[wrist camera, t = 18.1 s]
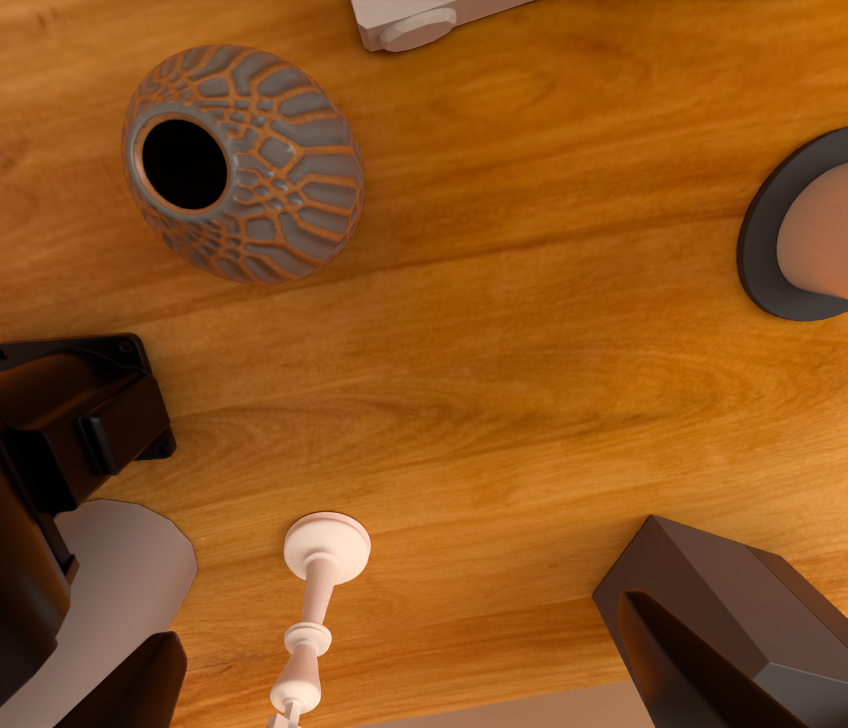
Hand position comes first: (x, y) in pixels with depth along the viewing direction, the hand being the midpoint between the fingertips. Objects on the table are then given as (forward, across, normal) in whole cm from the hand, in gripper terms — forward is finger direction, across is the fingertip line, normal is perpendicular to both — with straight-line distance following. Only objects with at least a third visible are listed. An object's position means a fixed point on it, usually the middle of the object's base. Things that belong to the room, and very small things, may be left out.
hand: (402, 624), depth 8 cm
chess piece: (+13, +5, +10) cm, 18 cm away
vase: (+13, +4, -9) cm, 16 cm away
